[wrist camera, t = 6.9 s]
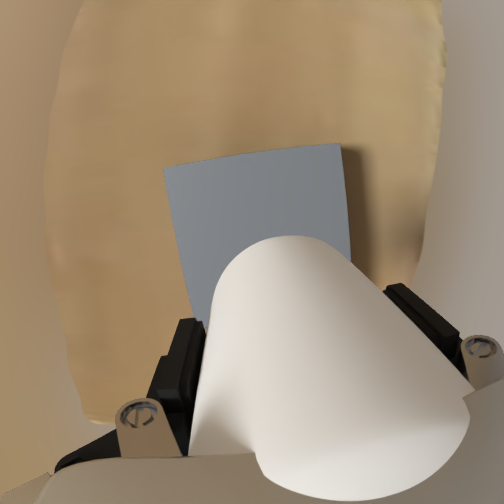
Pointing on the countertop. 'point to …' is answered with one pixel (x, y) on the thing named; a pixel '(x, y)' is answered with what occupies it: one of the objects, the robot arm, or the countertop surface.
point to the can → (323, 377)
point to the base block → (253, 209)
